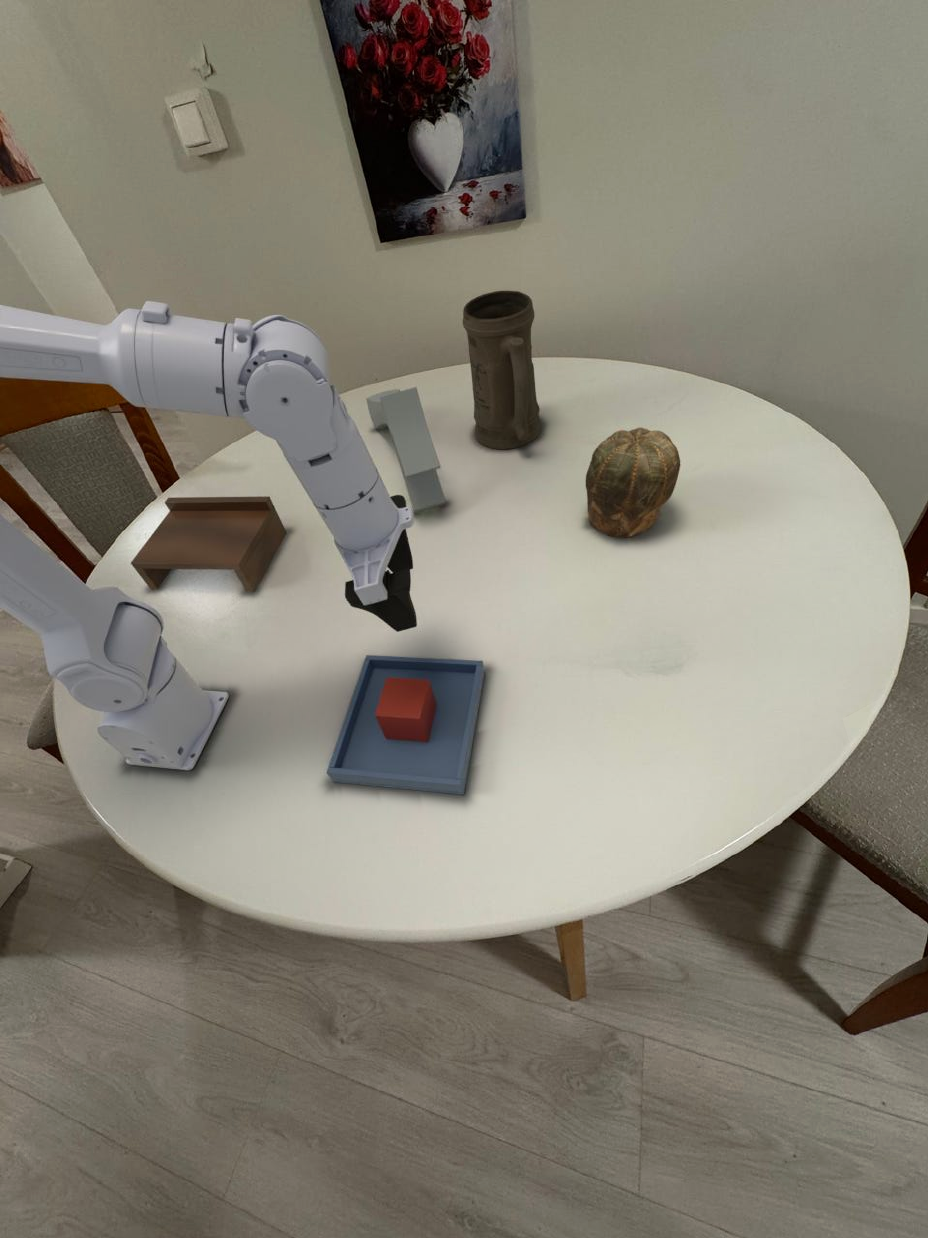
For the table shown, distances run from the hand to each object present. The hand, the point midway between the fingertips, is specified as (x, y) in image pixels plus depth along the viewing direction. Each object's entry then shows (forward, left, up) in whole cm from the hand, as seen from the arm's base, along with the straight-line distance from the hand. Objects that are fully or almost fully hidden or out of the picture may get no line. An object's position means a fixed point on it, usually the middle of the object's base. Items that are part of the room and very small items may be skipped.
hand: (405, 596), depth 56 cm
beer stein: (+46, -5, -12) cm, 48 cm away
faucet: (+39, +11, -12) cm, 42 cm away
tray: (-7, 0, -12) cm, 14 cm away
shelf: (+17, +34, -12) cm, 40 cm away
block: (-7, 0, -11) cm, 13 cm away
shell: (+26, -22, -12) cm, 36 cm away
